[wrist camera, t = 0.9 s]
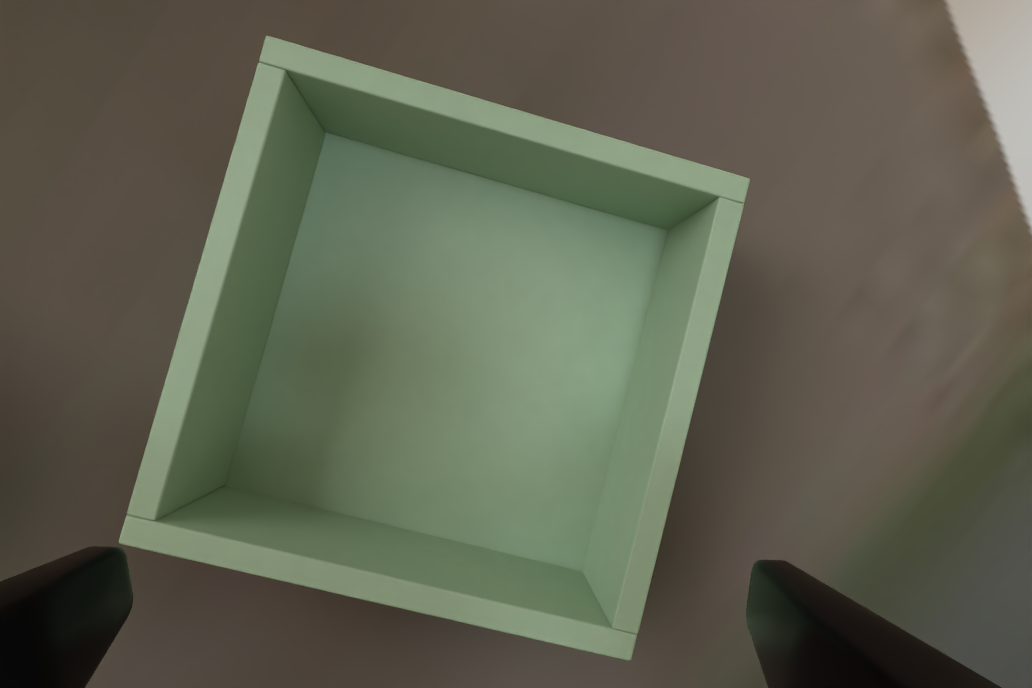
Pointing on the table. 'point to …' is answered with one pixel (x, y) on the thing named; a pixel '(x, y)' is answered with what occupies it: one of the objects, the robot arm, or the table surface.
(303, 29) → the table surface
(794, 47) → the table surface
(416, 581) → the mint green tray
